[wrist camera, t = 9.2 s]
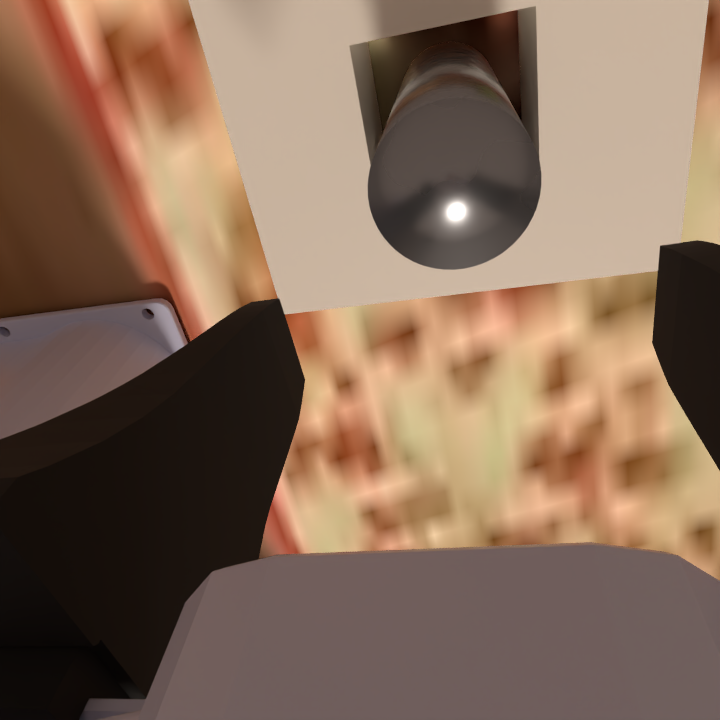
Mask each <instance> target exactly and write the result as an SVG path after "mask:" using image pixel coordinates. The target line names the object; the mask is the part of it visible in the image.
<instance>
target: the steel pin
mask: <svg viewBox="0 0 720 720" xmlns="http://www.w3.org/2000/svg"><path fill="white" fill-rule="evenodd" d="M540 192H541V167H540V161H539V157H538V154H537V151H536V148H535V146H534V144H533V142H532V140H531V138H530V136H529V134H528V132H527V131H526V129H525V127H524V125H523V123H522V122H521V120H520V118H519V116H518V115H517V113H516V111H515V109H514V107H513V106H512V104H511V102H510V100H509V98H508V97H507V95H506V93H505V91H504V89H503V88H502V86H501V84H500V82H499V81H498V79H497V77H496V75H495V73H494V72H493V70H492V68H491V66H490V64H489V63H488V61H487V60H486V58H485V57H484V56H483V55H482V54H481V53H480V52H479V51H478V50H476V49H475V48H473V47H472V46H470V45H467V44H465V43H461V42H454V41H451V42H442V43H438V44H435V45H433V46H431V47H429V48H427V49H426V50H424V51H423V52H421V53H420V54H419V55H418V56H417V57H416V58H415V59H414V60H413V62H412V63H411V65H410V66H409V68H408V70H407V72H406V74H405V76H404V79H403V81H402V84H401V87H400V89H399V92H398V95H397V97H396V100H395V102H394V105H393V108H392V110H391V113H390V115H389V118H388V121H387V123H386V126H385V129H384V131H383V134H382V136H381V139H380V142H379V144H378V147H377V149H376V152H375V155H374V157H373V160H372V163H371V167H370V171H369V176H368V201H369V207H370V210H371V214H372V217H373V219H374V222H375V224H376V226H377V228H378V230H379V231H380V233H381V234H382V236H383V237H384V238H385V240H386V241H387V242H388V243H389V244H390V245H391V246H392V247H393V248H394V249H395V250H396V251H397V252H399V253H400V254H401V255H403V256H404V257H406V258H408V259H409V260H411V261H413V262H415V263H418V264H420V265H423V266H426V267H430V268H435V269H443V270H456V269H465V268H469V267H474V266H477V265H480V264H483V263H485V262H487V261H489V260H491V259H493V258H495V257H497V256H498V255H500V254H502V253H503V252H504V251H506V250H507V249H508V248H509V247H510V246H512V245H513V244H514V243H515V242H516V241H517V240H518V239H519V237H520V236H521V235H522V234H523V232H524V231H525V230H526V228H527V227H528V225H529V223H530V221H531V220H532V218H533V216H534V213H535V211H536V208H537V205H538V201H539V198H540Z"/></svg>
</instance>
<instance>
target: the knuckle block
mask: <svg viewBox="0 0 720 720" xmlns="http://www.w3.org/2000/svg"><path fill="white" fill-rule="evenodd" d="M708 2H709V0H189V4H190V7H191V10H192V14H193V17H194V20H195V24H196V27H197V30H198V34H199V37H200V40H201V44H202V47H203V50H204V54H205V57H206V60H207V64H208V67H209V70H210V74H211V77H212V80H213V84H214V87H215V90H216V94H217V97H218V100H219V104H220V107H221V110H222V114H223V117H224V120H225V124H226V127H227V130H228V134H229V137H230V140H231V144H232V147H233V150H234V154H235V157H236V160H237V164H238V167H239V170H240V174H241V177H242V180H243V184H244V187H245V190H246V194H247V197H248V200H249V204H250V207H251V210H252V213H253V217H254V220H255V223H256V227H257V230H258V233H259V237H260V240H261V243H262V247H263V250H264V253H265V257H266V260H267V263H268V267H269V270H270V273H271V277H272V280H273V283H274V287H275V290H276V293H277V297H278V298H279V299H280V302H281V305H282V308H283V311H284V314H292V313H300V312H309V311H317V310H326V309H334V308H343V307H352V306H360V305H369V304H377V303H386V302H394V301H403V300H412V299H420V298H429V297H437V296H446V295H454V294H463V293H472V292H480V291H489V290H497V289H506V288H514V287H523V286H532V285H540V284H549V283H557V282H566V281H574V280H583V279H591V278H600V277H609V276H617V275H626V274H634V273H643V272H651V271H658V264H659V252H660V246H661V245H668V244H676V243H681V235H682V227H683V218H684V209H685V201H686V192H687V184H688V175H689V166H690V158H691V149H692V140H693V132H694V123H695V115H696V106H697V97H698V89H699V80H700V71H701V63H702V54H703V46H704V37H705V28H706V20H707V11H708ZM514 10H517V12H518V38H519V65H520V92H521V118H522V123H523V125H524V127H525V129H526V131H527V132H528V134H529V136H530V138H531V140H532V142H533V144H534V146H535V148H536V151H537V154H538V157H539V161H540V167H541V192H540V198H539V201H538V205H537V208H536V211H535V213H534V216H533V218H532V220H531V221H530V223H529V225H528V227H527V228H526V230H525V231H524V232H523V234H522V235H521V236H520V237H519V239H518V240H517V241H516V242H515V243H514V244H513V245H512V246H510V247H509V248H508V249H507V250H506V251H504V252H503V253H502V254H500V255H498V256H497V257H495V258H493V259H491V260H489V261H487V262H485V263H483V264H480V265H477V266H474V267H469V268H465V269H456V270H443V269H435V268H430V267H426V266H423V265H420V264H418V263H415V262H413V261H411V260H409V259H408V258H406V257H404V256H403V255H401V254H400V253H399V252H397V251H396V250H395V249H394V248H393V247H392V246H391V245H390V244H389V243H388V242H387V241H386V240H385V238H384V237H383V236H382V234H381V233H380V231H379V230H378V228H377V226H376V224H375V222H374V219H373V217H372V214H371V210H370V207H369V201H368V176H369V171H370V167H371V163H372V160H373V157H374V155H375V152H376V149H377V147H378V144H379V142H380V139H381V136H382V134H383V132H382V126H381V119H380V113H379V107H378V101H377V95H376V89H375V82H374V76H373V70H372V64H371V58H370V52H369V45H368V41H373V40H377V39H382V38H387V37H392V36H396V35H401V34H406V33H410V32H415V31H420V30H425V29H429V28H434V27H439V26H443V25H448V24H453V23H457V22H462V21H467V20H472V19H476V18H481V17H486V16H490V15H495V14H500V13H505V12H509V11H514Z"/></svg>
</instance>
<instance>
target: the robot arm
mask: <svg viewBox="0 0 720 720" xmlns="http://www.w3.org/2000/svg"><path fill="white" fill-rule="evenodd" d="M146 309H150V310H151V311H152V312H153V313H154V315H151V314H149V313H148V312H147V311H146ZM6 328H7V329H8V330H9V331H10V332H9V331H7V330H6ZM652 343H653V346H654V349H655V351H656V354H657V357H658V360H659V362H660V365H661V367H662V370H663V372H664V375H665V377H666V380H667V382H668V385H669V386H670V388H671V390H672V392H673V393H674V395H675V397H676V399H677V400H678V402H679V404H680V405H681V407H682V409H683V410H684V412H685V414H686V416H687V417H688V419H689V421H690V422H691V424H692V426H693V427H694V429H695V430H696V432H697V434H698V435H699V437H700V439H701V440H702V442H703V444H704V445H705V447H706V449H707V450H708V452H709V454H710V455H711V457H712V459H713V460H714V462H715V464H716V465H717V467H718V469H719V470H720V245H718V244H714V243H710V242H705V241H698V240H697V241H690V242H683V243H676V244H668V245H661V246H660V252H659V264H658V277H657V290H656V302H655V315H654V328H653V341H652ZM304 383H305V378H304V375H303V372H302V369H301V365H300V362H299V359H298V356H297V353H296V349H295V346H294V343H293V340H292V337H291V334H290V330H289V327H288V324H287V321H286V318H285V314H284V311H283V308H282V305H281V302H280V299H279V298H278V299H271V300H264V301H257V302H251V303H249V304H247V305H245V306H243V307H241V308H239V309H238V310H236V311H234V312H233V313H231V314H230V315H228V316H227V317H225V318H224V319H222V320H221V321H219V322H218V323H217V324H215V325H214V326H212V327H211V328H209V329H208V330H207V331H205V332H204V333H202V334H201V335H199V336H198V337H197V338H195V339H194V340H192V341H191V342H189V343H188V342H187V340H186V337H185V335H184V333H183V330H182V328H181V325H180V323H179V321H178V318H177V316H176V313H175V311H174V308H173V307H172V305H171V303H169V302H168V301H167V300H165V299H162V298H156V299H148V300H140V301H132V302H125V303H117V304H109V305H101V306H94V307H86V308H78V309H70V310H62V311H55V312H47V313H39V314H31V315H24V316H16V317H8V318H0V720H720V581H719V580H717V579H716V578H714V577H712V576H711V575H709V574H707V573H706V572H704V571H702V570H701V569H699V568H697V567H696V566H694V565H693V564H691V563H689V562H688V561H686V560H684V559H683V558H681V557H679V556H678V555H674V554H670V553H666V552H662V551H654V550H646V549H638V548H631V547H623V546H615V545H607V544H599V543H591V542H588V543H562V544H537V545H512V546H487V547H461V548H436V549H411V550H386V551H360V552H335V553H310V554H285V555H274V556H270V557H266V558H262V559H258V558H259V553H260V548H261V543H262V539H263V534H264V529H265V524H266V521H267V517H268V513H269V510H270V506H271V503H272V500H273V497H274V494H275V491H276V488H277V485H278V482H279V479H280V476H281V473H282V470H283V467H284V464H285V461H286V458H287V455H288V452H289V449H290V445H291V442H292V439H293V436H294V433H295V430H296V427H297V423H298V420H299V415H300V409H301V404H302V397H303V390H304Z"/></svg>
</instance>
